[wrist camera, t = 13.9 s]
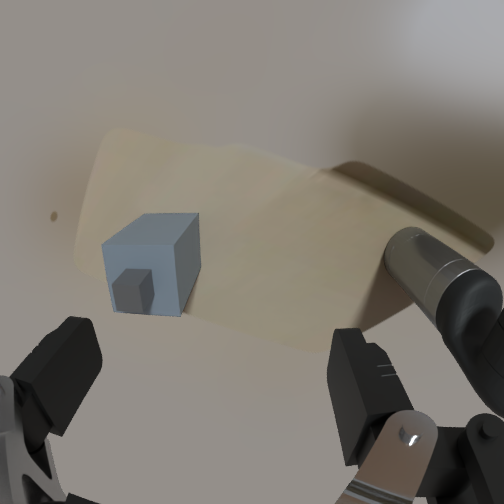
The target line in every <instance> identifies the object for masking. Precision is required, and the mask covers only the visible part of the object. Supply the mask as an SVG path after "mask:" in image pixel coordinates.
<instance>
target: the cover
mask: <svg viewBox="0 0 504 504" xmlns="http://www.w3.org/2000/svg"><path fill="white" fill-rule="evenodd" d="M102 252H103V258H104V264H105V270H106V276H107V281H108V287H109V292H110V296H111V301H112V307H113V311H114V312H120V313H132V314H146V315H160V316H177V317H181V314H182V312H183V309H184V307H185V304H186V302H187V300H188V297H189V295H190V292H191V290H192V287H193V285H194V283H195V280H196V278H197V275H198V273H199V271H200V268H201V256H200V235H199V213H157V214H143V215H142V216H140V217H139V218H138V219H136V220H135V221H133V222H132V223H130V224H129V225H128V226H126V227H125V228H123V229H122V230H121V231H119V232H118V233H117V234H115V235H114V236H112V237H111V238H110V239H108V240H107V241H106V242H104V243H103V244H102Z"/></svg>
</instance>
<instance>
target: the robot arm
mask: <svg viewBox="0 0 504 504" xmlns="http://www.w3.org/2000/svg"><path fill="white" fill-rule="evenodd" d="M384 262H385V266H386V269H387V271H388V272H389V274H390V275H391V276H392V277H393V278H394V279H395V280H396V282H397V283H398V284H399V285H400V286H401V287H402V288H403V290H404V291H405V292H406V293H407V294H408V295H409V296H410V298H411V299H412V300H413V301H414V302H415V303H416V305H417V306H418V307H419V308H420V309H421V310H422V311H423V313H424V314H425V315H426V316H427V318H428V319H429V320H430V321H431V322H432V323H433V325H434V326H435V327H436V328H437V330H438V331H439V332H440V333H441V335H442V338H443V341H444V343H445V345H446V346H447V348H448V349H449V350H450V352H451V353H452V355H453V356H454V358H455V359H456V361H457V363H458V364H459V366H460V367H461V369H462V371H463V372H464V374H465V376H466V377H467V379H468V381H469V382H470V384H471V385H472V387H473V388H474V390H475V392H476V393H477V394H478V396H479V397H480V398H481V399H482V401H483V402H484V403H485V405H486V406H487V407H489V408H490V409H491V410H492V411H493V412H494V413H495V414H497V415H498V416H501V417H502V418H504V308H503V310H502V303H503V296H502V291H501V288H500V285H499V284H498V283H497V281H496V280H495V279H494V278H493V277H492V276H491V275H489V274H488V273H486V272H485V271H484V270H482V269H481V268H479V267H478V266H477V265H475V264H474V263H472V262H471V261H469V260H468V259H466V258H465V257H463V256H462V255H460V254H459V253H457V252H456V251H454V250H453V249H451V248H450V247H448V246H447V245H445V244H444V243H442V242H441V241H439V240H438V239H436V238H435V237H433V236H431V235H430V234H428V233H427V232H425V231H423V230H422V229H420V228H417V227H408V228H404V229H402V230H400V231H399V232H397V233H396V234H395V235H394V236H393V237H392V238H391V240H390V241H389V243H388V245H387V247H386V250H385V255H384ZM501 310H502V312H501ZM101 368H102V354H101V350H100V347H99V344H98V341H97V337H96V334H95V330H94V327H93V324H92V321H91V320H90V319H88V318H81V317H73V316H70V317H68V318H67V319H66V320H65V321H64V322H63V323H62V324H61V325H60V326H59V327H58V328H57V329H56V330H54V331H52V332H51V333H49V334H47V335H46V336H45V337H44V338H43V339H42V340H41V342H40V343H39V345H38V346H36V347H35V348H34V349H33V351H32V353H30V354H29V355H28V356H27V357H26V358H25V359H24V361H23V362H22V363H21V364H20V365H19V366H18V368H17V369H16V370H15V371H14V372H13V373H12V375H11V376H10V377H7V376H0V504H99V503H95V502H93V501H89V500H87V499H84V498H82V497H79V496H76V495H74V494H71V493H69V494H68V496H67V497H66V496H65V494H64V492H63V491H62V489H61V487H60V484H59V481H58V477H57V473H56V469H55V465H54V461H53V456H52V452H51V447H50V443H49V440H48V439H47V435H48V433H49V432H50V433H53V434H56V435H59V436H61V437H62V436H63V434H64V433H65V431H66V429H67V427H68V425H69V424H70V422H71V420H72V418H73V416H74V414H75V413H76V411H77V409H78V408H79V406H80V404H81V402H82V400H83V399H84V397H85V396H86V394H87V392H88V391H89V389H90V387H91V385H92V384H93V382H94V380H95V379H96V377H97V376H98V374H99V372H100V370H101ZM327 383H328V388H329V392H330V397H331V401H332V405H333V409H334V414H335V418H336V423H337V428H338V432H339V436H340V442H341V446H342V451H343V456H344V460H345V465H346V466H352V465H358V469H359V471H358V472H357V474H356V475H355V477H354V478H353V480H352V481H351V483H349V485H348V486H347V487H346V489H345V490H344V491H343V493H342V494H341V496H340V497H339V499H338V500H337V501H336V503H335V504H412V503H413V500H414V498H415V497H426V499H427V503H428V504H504V422H503V421H502V420H501V419H500V418H498V417H497V416H495V415H492V414H487V413H483V414H478V415H476V416H474V417H473V418H471V419H470V421H469V422H468V424H467V425H466V427H438V426H436V424H435V423H434V421H433V420H432V419H431V418H430V417H429V416H427V415H426V414H424V413H422V412H419V411H415V410H414V408H413V406H412V404H411V402H410V400H409V398H408V396H407V393H406V391H405V389H404V387H403V385H402V383H401V381H400V379H399V377H398V376H397V375H396V371H395V369H394V367H393V366H392V363H391V361H390V359H389V357H388V355H387V353H386V352H385V351H384V350H383V349H381V348H380V347H379V346H378V345H377V344H375V343H366V341H365V339H364V337H363V334H362V332H361V330H360V329H359V328H346V329H335V330H334V333H333V339H332V345H331V350H330V356H329V362H328V367H327Z"/></svg>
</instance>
